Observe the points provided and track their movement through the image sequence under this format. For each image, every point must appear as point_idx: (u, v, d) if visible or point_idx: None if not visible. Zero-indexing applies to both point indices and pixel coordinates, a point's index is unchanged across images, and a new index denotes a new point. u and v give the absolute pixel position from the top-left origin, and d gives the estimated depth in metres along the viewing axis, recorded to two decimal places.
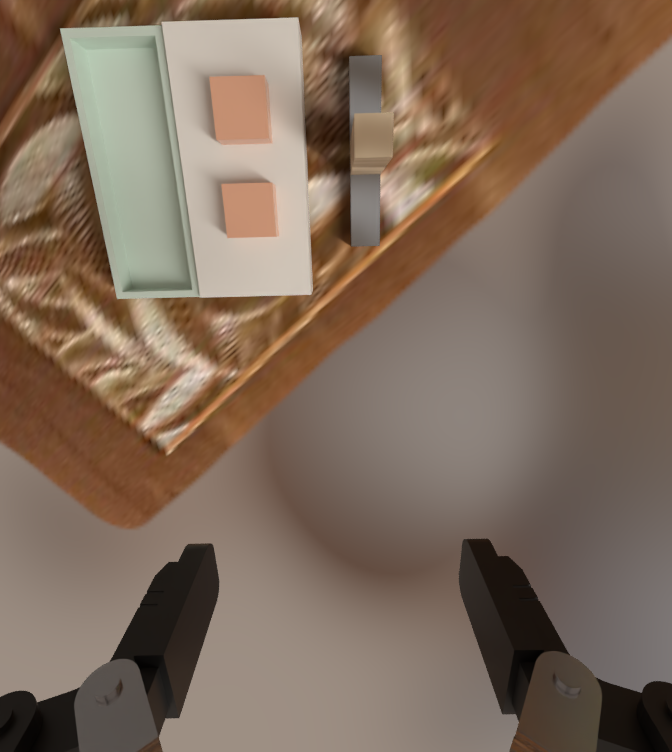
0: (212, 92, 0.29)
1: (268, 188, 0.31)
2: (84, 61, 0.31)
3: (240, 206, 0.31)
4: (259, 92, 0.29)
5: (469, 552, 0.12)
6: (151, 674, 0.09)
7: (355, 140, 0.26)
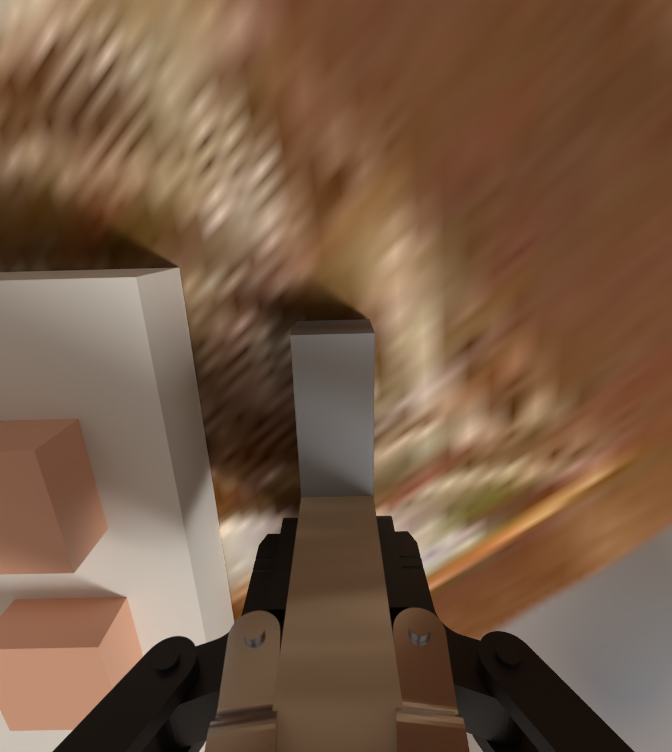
0: None
1: (90, 657, 0.12)
2: None
3: (28, 685, 0.13)
4: (28, 486, 0.10)
5: None
6: (282, 626, 0.10)
7: None
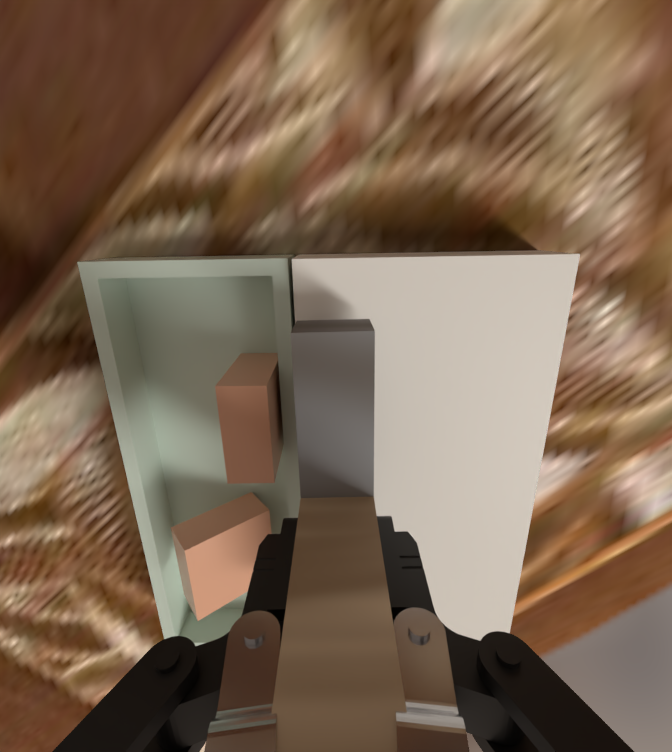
0: None
1: None
2: (122, 299, 0.16)
3: None
4: None
5: None
6: (282, 626, 0.10)
7: None
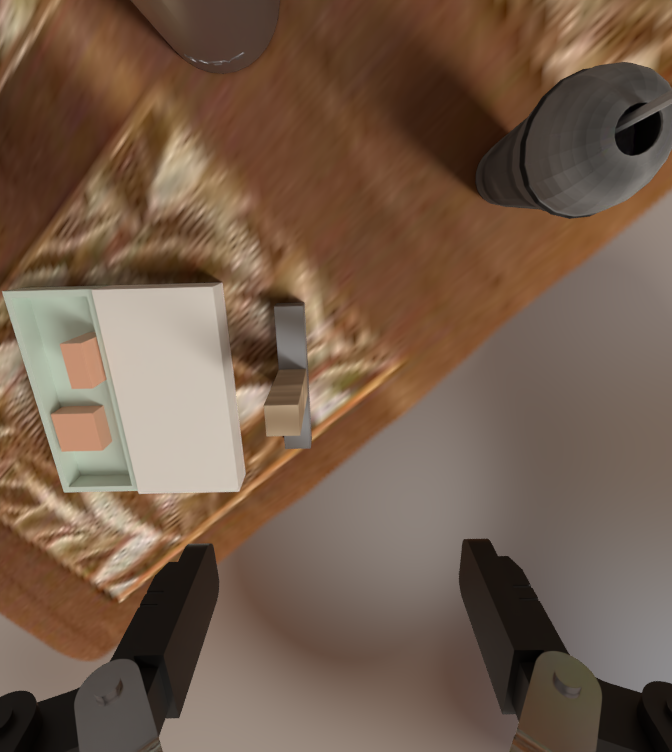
0: None
1: None
2: (27, 307, 0.35)
3: None
4: None
5: (470, 553, 0.12)
6: (151, 674, 0.09)
7: (266, 424, 0.29)
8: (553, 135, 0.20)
